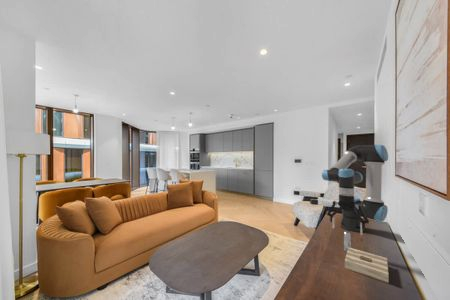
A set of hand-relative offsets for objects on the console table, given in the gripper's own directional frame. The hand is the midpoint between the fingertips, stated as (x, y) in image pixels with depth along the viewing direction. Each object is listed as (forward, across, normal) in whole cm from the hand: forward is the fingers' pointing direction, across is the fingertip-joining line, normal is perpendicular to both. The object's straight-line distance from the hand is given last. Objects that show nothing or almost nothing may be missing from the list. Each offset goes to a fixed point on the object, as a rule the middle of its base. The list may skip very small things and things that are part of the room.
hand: (346, 231), depth 103 cm
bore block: (+12, +9, -12) cm, 19 cm away
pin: (+12, 0, 0) cm, 12 cm away
